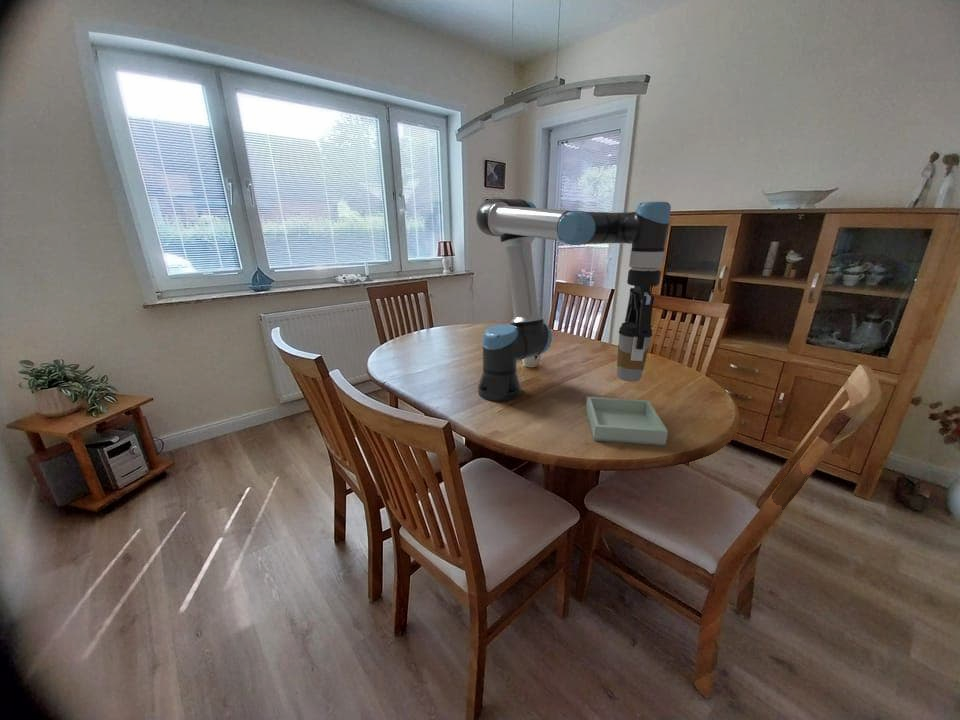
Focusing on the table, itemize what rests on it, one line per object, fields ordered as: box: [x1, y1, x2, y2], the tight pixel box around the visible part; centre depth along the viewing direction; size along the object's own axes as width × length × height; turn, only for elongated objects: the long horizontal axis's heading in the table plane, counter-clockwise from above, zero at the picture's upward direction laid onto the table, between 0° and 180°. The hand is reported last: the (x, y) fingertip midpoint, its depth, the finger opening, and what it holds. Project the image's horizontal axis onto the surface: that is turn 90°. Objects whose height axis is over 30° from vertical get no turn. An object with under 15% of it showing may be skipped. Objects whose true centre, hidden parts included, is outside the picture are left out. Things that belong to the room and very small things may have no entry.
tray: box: [585, 396, 669, 447], centre depth 105 cm, size 18×18×4 cm
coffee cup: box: [616, 321, 653, 383], centre depth 98 cm, size 8×8×15 cm
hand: (632, 354), depth 98 cm, fingers closed on coffee cup, 8 cm apart
